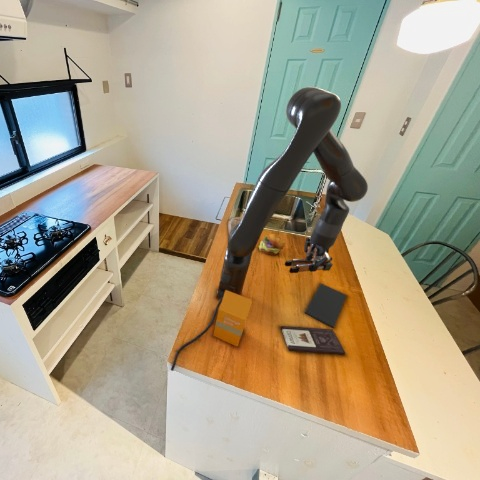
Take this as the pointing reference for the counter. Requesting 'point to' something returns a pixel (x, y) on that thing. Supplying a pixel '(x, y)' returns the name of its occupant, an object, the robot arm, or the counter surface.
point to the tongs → (304, 265)
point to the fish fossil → (233, 222)
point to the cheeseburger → (272, 244)
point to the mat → (326, 305)
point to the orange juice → (232, 317)
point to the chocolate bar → (312, 340)
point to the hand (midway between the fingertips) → (309, 267)
